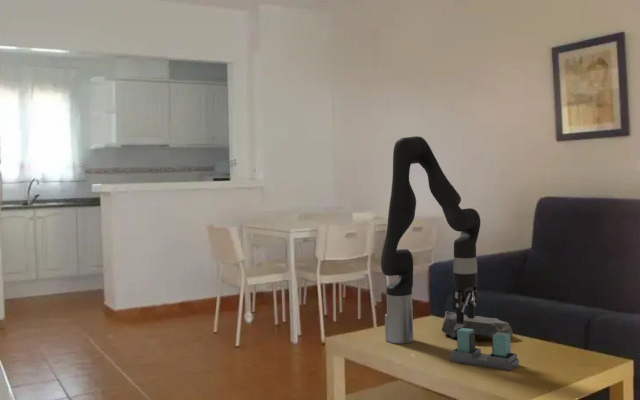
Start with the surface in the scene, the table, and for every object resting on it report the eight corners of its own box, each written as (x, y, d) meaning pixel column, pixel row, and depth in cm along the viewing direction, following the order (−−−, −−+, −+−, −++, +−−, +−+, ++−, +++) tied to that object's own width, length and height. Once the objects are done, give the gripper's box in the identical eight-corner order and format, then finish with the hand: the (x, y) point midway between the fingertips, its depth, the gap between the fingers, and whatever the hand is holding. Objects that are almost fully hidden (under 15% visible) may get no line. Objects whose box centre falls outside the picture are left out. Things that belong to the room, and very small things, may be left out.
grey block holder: (450, 361, 217) (449, 330, 217) (459, 356, 223) (458, 326, 222) (510, 370, 205) (510, 338, 205) (518, 364, 211) (518, 333, 210)
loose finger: (470, 357, 214) (470, 332, 214) (457, 355, 217) (457, 330, 217) (475, 354, 218) (475, 329, 217) (462, 352, 220) (462, 327, 220)
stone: (441, 307, 264) (507, 307, 259) (442, 328, 264) (507, 328, 260) (441, 320, 241) (513, 320, 236) (442, 343, 241) (514, 344, 237)
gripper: (467, 275, 208) (467, 327, 209) (484, 268, 220) (485, 317, 221) (444, 273, 213) (445, 324, 214) (463, 266, 224) (463, 315, 225)
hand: (465, 320), depth 217 cm, fingers open, 8 cm apart
